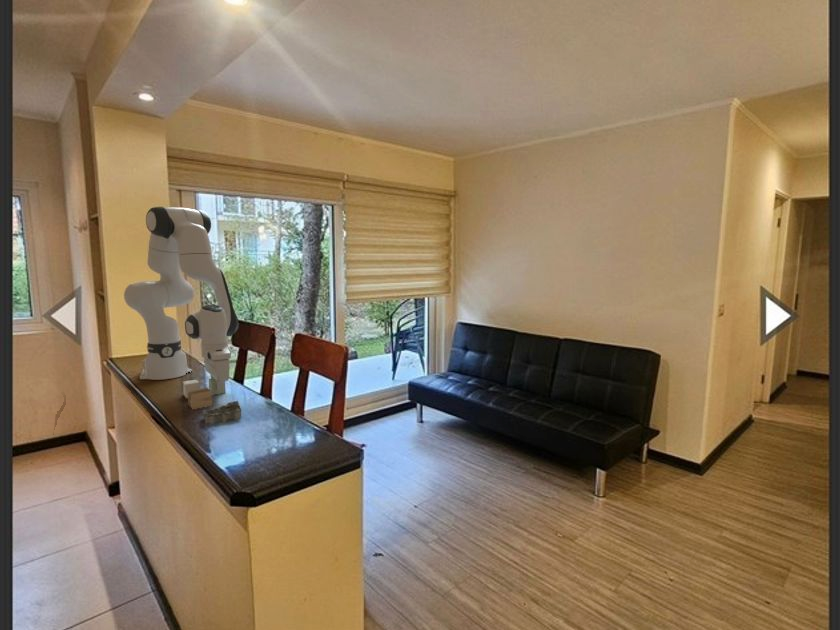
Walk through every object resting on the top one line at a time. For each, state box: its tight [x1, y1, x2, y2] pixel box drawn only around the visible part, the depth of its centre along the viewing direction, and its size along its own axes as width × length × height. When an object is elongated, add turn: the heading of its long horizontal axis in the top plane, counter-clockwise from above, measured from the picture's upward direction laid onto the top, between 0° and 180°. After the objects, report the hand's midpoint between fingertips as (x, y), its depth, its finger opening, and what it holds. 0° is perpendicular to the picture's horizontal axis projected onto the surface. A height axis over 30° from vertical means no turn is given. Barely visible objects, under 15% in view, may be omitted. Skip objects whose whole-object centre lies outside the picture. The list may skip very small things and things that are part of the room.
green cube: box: [208, 378, 227, 396], centre depth 161 cm, size 4×4×5 cm
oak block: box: [187, 387, 213, 411], centre depth 148 cm, size 6×6×5 cm
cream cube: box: [182, 379, 201, 399], centre depth 158 cm, size 4×4×5 cm
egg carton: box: [202, 400, 242, 424], centre depth 137 cm, size 11×8×4 cm
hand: (217, 387), depth 162 cm, fingers closed on green cube, 4 cm apart
